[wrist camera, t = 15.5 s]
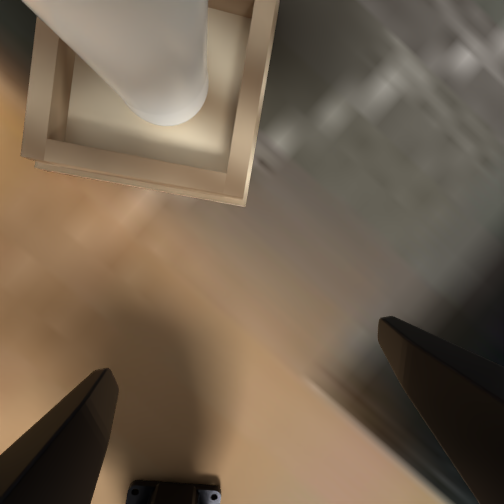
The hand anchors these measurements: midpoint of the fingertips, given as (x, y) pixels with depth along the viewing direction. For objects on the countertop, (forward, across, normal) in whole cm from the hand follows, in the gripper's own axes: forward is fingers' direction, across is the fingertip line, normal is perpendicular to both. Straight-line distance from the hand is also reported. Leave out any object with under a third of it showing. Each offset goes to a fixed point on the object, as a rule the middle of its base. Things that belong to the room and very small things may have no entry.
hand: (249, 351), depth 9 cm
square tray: (+14, +3, -10) cm, 17 cm away
